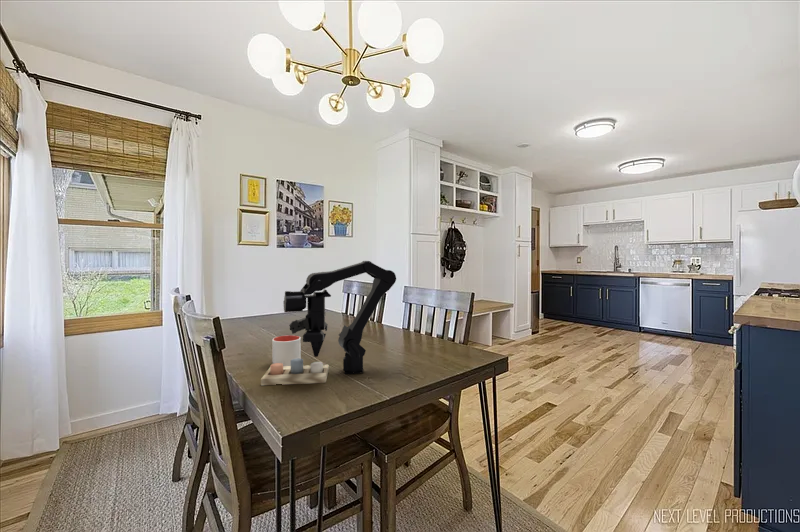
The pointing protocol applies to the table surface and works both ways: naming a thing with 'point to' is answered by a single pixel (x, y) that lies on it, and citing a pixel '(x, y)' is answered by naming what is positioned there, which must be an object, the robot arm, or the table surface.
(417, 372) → the table surface
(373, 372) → the table surface
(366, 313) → the robot arm
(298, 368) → the button slate
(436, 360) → the table surface
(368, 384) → the table surface
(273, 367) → the button terracotta
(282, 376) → the board
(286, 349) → the cup
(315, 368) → the button cream
